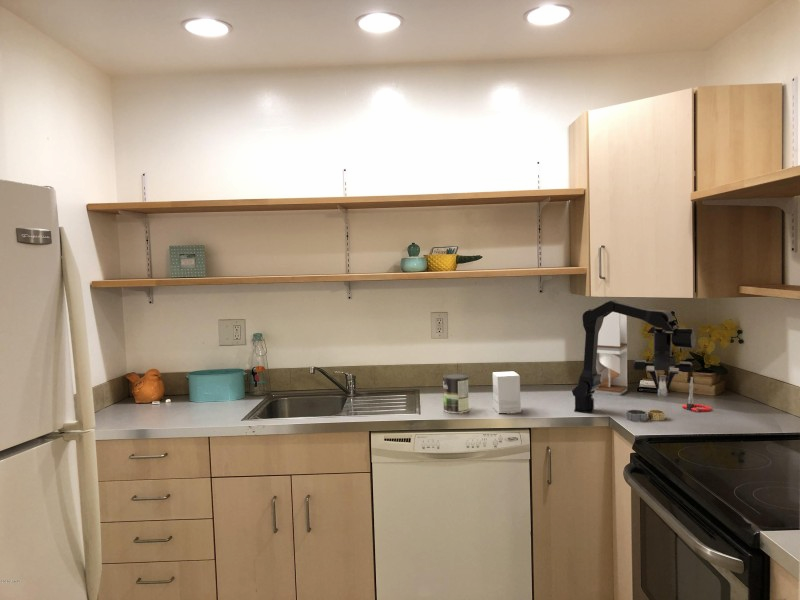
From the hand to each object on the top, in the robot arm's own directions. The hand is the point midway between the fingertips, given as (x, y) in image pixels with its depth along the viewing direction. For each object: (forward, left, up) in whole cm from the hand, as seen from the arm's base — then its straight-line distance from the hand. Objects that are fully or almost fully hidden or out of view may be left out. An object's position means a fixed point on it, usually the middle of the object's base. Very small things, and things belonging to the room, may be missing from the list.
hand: (662, 389), depth 204 cm
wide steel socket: (-9, +2, -12) cm, 15 cm away
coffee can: (-75, -8, -12) cm, 77 cm away
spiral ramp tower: (-22, +44, -12) cm, 51 cm away
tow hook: (+12, +24, -12) cm, 30 cm away
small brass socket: (-2, +5, -12) cm, 13 cm away
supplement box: (-56, -2, -12) cm, 58 cm away
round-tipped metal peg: (0, 0, -2) cm, 2 cm away
